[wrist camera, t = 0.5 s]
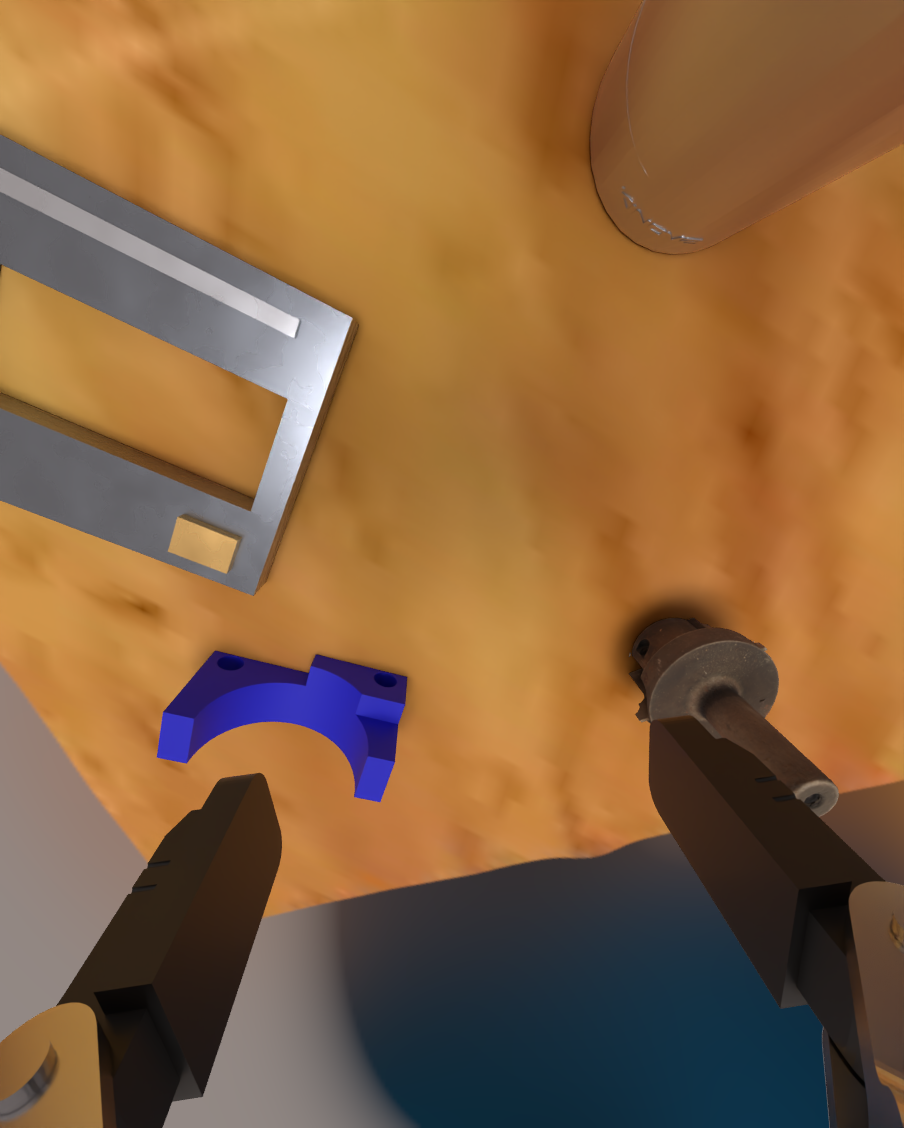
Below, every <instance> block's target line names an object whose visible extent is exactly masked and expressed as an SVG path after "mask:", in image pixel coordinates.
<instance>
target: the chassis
mask: <svg viewBox="0 0 904 1128" xmlns="http://www.w3.org/2000/svg"><path fill="white" fill-rule="evenodd" d="M1 264H2V265H4V266H6V267H8V268H10V269H12V270H15V271H17V272H19V273H21V274H23V275H25V276H27V277H29V278H32V279H34V280H36V281H38V282H40V283H42V284H44V285H46V286H49V287H51V288H53V289H55V290H57V291H59V292H61V293H63V294H66V295H68V296H70V297H72V298H74V299H76V300H78V301H80V302H83V303H85V304H87V305H89V306H91V307H93V308H95V309H97V310H100V311H102V312H104V313H106V314H108V315H110V316H112V317H114V318H117V319H119V320H121V321H123V322H125V323H127V324H129V325H132V326H134V327H136V328H138V329H140V330H142V331H144V332H146V333H149V334H151V335H153V336H155V337H157V338H159V339H161V340H163V341H166V342H168V343H170V344H172V345H174V346H176V347H178V348H180V349H183V350H185V351H187V352H189V353H191V354H193V355H195V356H197V357H200V358H202V359H204V360H206V361H208V362H210V363H212V364H214V365H217V366H219V367H221V368H223V369H225V370H227V371H229V372H232V373H234V374H236V375H238V376H240V377H242V378H244V379H246V380H249V381H251V382H253V383H255V384H257V385H259V386H261V387H263V388H266V389H268V390H270V391H272V392H274V393H276V394H278V395H280V396H283V397H285V398H287V399H288V401H287V404H286V407H285V410H284V413H283V416H282V419H281V422H280V425H279V428H278V431H277V434H276V437H275V440H274V443H273V446H272V449H271V452H270V455H269V458H268V461H267V464H266V467H265V470H264V473H263V476H262V479H261V482H260V485H259V488H258V491H257V494H256V497H255V499H253V498H250V497H248V496H246V495H243V494H241V493H238V492H236V491H234V490H231V489H229V488H226V487H224V486H222V485H219V484H217V483H215V482H212V481H210V480H207V479H205V478H203V477H200V476H198V475H195V474H193V473H191V472H188V471H186V470H184V469H181V468H179V467H176V466H174V465H172V464H169V463H167V462H164V461H162V460H160V459H157V458H155V457H153V456H150V455H148V454H145V453H143V452H141V451H138V450H136V449H133V448H131V447H129V446H126V445H124V444H122V443H119V442H117V441H114V440H112V439H110V438H107V437H105V436H102V435H100V434H98V433H95V432H93V431H91V430H88V429H86V428H83V427H81V426H79V425H76V424H74V423H71V422H69V421H67V420H64V419H62V418H60V417H57V416H55V415H52V414H50V413H48V412H45V411H43V410H40V409H38V408H36V407H33V406H31V405H29V404H26V403H24V402H21V401H19V400H17V399H14V398H12V397H9V396H7V395H5V394H2V393H0V500H1V501H3V502H6V503H9V504H11V505H14V506H16V507H19V508H22V509H24V510H27V511H30V512H32V513H35V514H38V515H40V516H43V517H46V518H48V519H51V520H54V521H56V522H59V523H62V524H64V525H67V526H70V527H72V528H75V529H78V530H80V531H83V532H85V533H88V534H91V535H93V536H96V537H99V538H101V539H104V540H107V541H109V542H112V543H115V544H117V545H120V546H123V547H125V548H128V549H131V550H133V551H136V552H139V553H141V554H144V555H147V556H149V557H152V558H154V559H157V560H160V561H162V562H165V563H168V564H170V565H173V566H176V567H178V568H181V569H184V570H186V571H189V572H192V573H194V574H197V575H200V576H202V577H205V578H208V579H210V580H213V581H215V582H218V583H221V584H223V585H226V586H229V587H231V588H234V589H237V590H239V591H242V592H245V593H247V594H250V595H253V596H254V595H255V594H256V592H257V591H258V590H259V589H260V588H261V587H262V586H263V585H264V583H265V582H266V580H267V577H268V575H269V572H270V569H271V566H272V564H273V561H274V558H275V555H276V553H277V550H278V547H279V544H280V542H281V539H282V536H283V533H284V530H285V528H286V525H287V522H288V519H289V517H290V514H291V511H292V508H293V506H294V503H295V500H296V497H297V495H298V492H299V489H300V486H301V484H302V481H303V478H304V475H305V472H306V470H307V467H308V464H309V461H310V459H311V456H312V453H313V450H314V448H315V445H316V442H317V439H318V437H319V434H320V431H321V428H322V426H323V423H324V420H325V417H326V414H327V412H328V409H329V406H330V403H331V401H332V398H333V395H334V392H335V390H336V387H337V384H338V381H339V379H340V376H341V373H342V370H343V368H344V365H345V362H346V359H347V356H348V354H349V351H350V348H351V345H352V343H353V340H354V337H355V334H356V332H357V329H358V326H359V325H358V323H357V322H356V321H355V320H354V319H353V318H352V317H350V316H348V315H346V314H344V313H342V312H340V311H338V310H336V309H334V308H332V307H330V306H328V305H327V304H325V303H323V302H321V301H319V300H317V299H315V298H313V297H311V296H309V295H307V294H305V293H304V292H302V291H300V290H298V289H296V288H294V287H292V286H290V285H288V284H286V283H284V282H282V281H280V280H279V279H277V278H275V277H273V276H271V275H269V274H267V273H265V272H263V271H261V270H259V269H257V268H256V267H254V266H252V265H250V264H248V263H246V262H244V261H242V260H240V259H238V258H236V257H234V256H233V255H231V254H229V253H227V252H225V251H223V250H221V249H219V248H217V247H215V246H213V245H211V244H209V243H208V242H206V241H204V240H202V239H200V238H198V237H196V236H194V235H192V234H190V233H188V232H186V231H185V230H183V229H181V228H179V227H177V226H175V225H173V224H171V223H169V222H167V221H165V220H163V219H161V218H160V217H158V216H156V215H154V214H152V213H150V212H148V211H146V210H144V209H142V208H140V207H138V206H137V205H135V204H133V203H131V202H129V201H127V200H125V199H123V198H121V197H119V196H117V195H115V194H114V193H112V192H110V191H108V190H106V189H104V188H102V187H100V186H98V185H96V184H94V183H92V182H90V181H89V180H87V179H85V178H83V177H81V176H79V175H77V174H75V173H73V172H71V171H69V170H67V169H66V168H64V167H62V166H60V165H58V164H56V163H54V162H52V161H50V160H48V159H46V158H44V157H42V156H41V155H39V154H37V153H35V152H33V151H31V150H29V149H27V148H25V147H23V146H21V145H19V144H18V143H16V142H14V141H12V140H10V139H8V138H6V137H4V136H2V135H0V268H1Z"/></svg>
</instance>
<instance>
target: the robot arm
mask: <svg viewBox="0 0 904 1128" xmlns="http://www.w3.org/2000/svg"><path fill="white" fill-rule="evenodd" d="M903 143H904V0H643V1H642V3H641V5H640V7H639V9H638V10H637V12H636V14H635V16H634V18H633V20H632V22H631V23H630V25H629V27H628V29H627V31H626V33H625V35H624V36H623V38H622V40H621V42H620V44H619V46H618V48H617V49H616V51H615V53H614V55H613V57H612V59H611V61H610V64H609V66H608V68H607V70H606V72H605V74H604V77H603V79H602V81H601V84H600V87H599V91H598V95H597V98H596V102H595V105H594V109H593V115H592V125H591V134H590V150H591V167H592V171H593V175H594V179H595V184H596V188H597V191H598V194H599V196H600V198H601V200H602V203H603V205H604V207H605V209H606V212H607V213H608V214H609V216H610V217H611V219H612V220H613V221H614V223H615V224H616V225H617V227H618V228H619V229H620V230H621V231H622V232H623V233H624V234H626V235H627V236H628V237H629V238H630V239H632V240H633V241H634V242H635V243H637V244H639V245H641V246H643V247H646V248H648V249H650V250H652V251H656V252H661V253H667V254H683V253H693V252H696V251H699V250H702V249H705V248H708V247H711V246H713V245H715V244H717V243H719V242H721V241H722V240H724V239H726V238H728V237H730V236H732V235H733V234H735V233H737V232H739V231H741V230H743V229H745V228H746V227H748V226H750V225H752V224H754V223H756V222H758V221H759V220H761V219H763V218H765V217H767V216H769V215H771V214H773V213H775V212H777V211H779V210H781V209H783V208H785V207H787V206H788V205H790V204H792V203H794V202H796V201H798V200H800V199H801V198H803V197H805V196H807V195H809V194H811V193H812V192H814V191H816V190H818V189H820V188H822V187H824V186H825V185H827V184H829V183H831V182H833V181H835V180H837V179H838V178H840V177H842V176H844V175H846V174H848V173H850V172H851V171H853V170H855V169H857V168H859V167H861V166H863V165H864V164H866V163H868V162H870V161H872V160H874V159H876V158H877V157H879V156H881V155H883V154H885V153H887V152H889V151H890V150H892V149H894V148H896V147H898V146H900V145H902V144H903ZM649 786H650V791H651V795H652V799H653V801H654V804H655V806H656V809H657V811H658V813H659V814H660V816H661V818H662V819H663V821H664V822H665V824H666V826H667V827H668V829H669V831H670V832H671V834H672V835H673V837H674V839H675V840H676V842H677V843H678V845H679V847H680V848H681V850H682V851H683V853H684V854H685V856H686V858H687V859H688V861H689V863H690V864H691V866H692V867H693V869H694V871H695V872H696V874H697V875H698V877H699V879H700V880H701V882H702V883H703V885H704V886H705V888H706V890H707V892H708V893H709V895H710V896H711V898H712V900H713V901H714V903H715V904H716V906H717V907H718V909H719V911H720V912H721V914H722V915H723V917H724V919H725V920H726V922H727V924H728V925H729V927H730V928H731V930H732V932H733V933H734V935H735V936H736V938H737V940H738V941H739V943H740V944H741V946H742V948H743V949H744V951H745V952H746V954H747V956H748V957H749V959H750V961H751V962H752V964H753V965H754V967H755V969H756V970H757V972H758V973H759V975H760V977H761V978H762V980H763V981H764V983H765V985H766V986H767V988H768V989H769V991H770V993H771V994H772V996H773V997H774V999H775V1001H776V1002H777V1004H778V1005H779V1007H780V1008H787V1007H794V1006H800V1005H806V1004H808V1005H809V1006H810V1007H811V1009H812V1010H813V1012H814V1013H815V1015H816V1016H817V1018H818V1019H819V1021H820V1022H821V1024H822V1025H823V1032H822V1046H823V1058H824V1069H825V1080H826V1091H827V1102H828V1114H829V1125H830V1128H904V886H903V885H899V884H894V883H889V882H886V881H885V880H883V879H882V878H881V877H880V876H879V875H878V874H877V873H876V872H875V871H874V870H873V869H872V868H871V867H870V866H869V865H868V864H867V863H866V862H865V861H864V860H863V859H862V858H861V857H859V856H858V855H857V854H856V853H855V852H854V851H853V850H852V849H851V848H850V847H849V846H848V845H847V844H846V843H845V842H844V841H843V840H842V839H841V838H840V837H839V836H838V835H837V834H836V833H835V832H834V831H833V830H832V829H831V828H829V827H828V826H827V825H826V824H825V823H824V822H823V821H822V820H821V819H820V818H819V817H818V816H817V815H816V814H815V813H814V812H813V811H812V810H811V809H810V808H809V807H808V806H807V805H806V804H805V803H804V802H803V801H802V800H801V799H797V798H796V796H795V794H794V793H793V792H792V791H791V790H790V789H789V788H788V787H787V786H786V785H785V784H784V783H783V782H782V781H781V780H777V778H776V775H775V774H774V773H773V772H772V771H771V770H770V769H769V768H767V767H766V766H765V765H764V764H763V763H762V762H761V761H760V760H759V759H758V758H757V757H756V756H755V755H754V754H753V753H751V752H749V751H747V750H746V749H744V748H742V747H740V746H739V745H737V744H735V743H734V742H732V741H730V740H728V739H727V738H719V739H715V738H714V737H713V736H712V735H711V734H710V733H709V732H708V731H707V729H706V728H705V727H704V726H703V725H702V724H701V723H700V722H699V721H698V720H697V719H696V718H694V717H693V716H691V715H686V716H679V717H672V718H664V719H657V720H653V721H652V722H651V725H650V742H649ZM281 851H282V837H281V830H280V827H279V823H278V820H277V816H276V813H275V809H274V805H273V802H272V798H271V795H270V791H269V788H268V784H267V781H266V778H265V777H264V775H263V774H261V773H256V774H249V775H241V776H234V777H227V778H222V779H220V780H219V781H218V782H217V783H216V785H215V787H214V788H213V790H212V792H211V793H210V795H209V797H208V798H207V800H206V802H205V804H204V805H203V807H202V809H200V810H193V811H191V812H189V813H188V814H187V815H186V816H185V817H184V818H183V819H182V820H181V821H180V822H179V823H178V824H177V825H176V826H175V827H174V828H173V829H172V830H171V831H170V832H169V833H168V834H167V835H166V836H165V837H164V839H163V840H162V842H161V844H160V845H159V847H158V848H157V850H156V851H155V853H154V855H153V856H152V858H151V859H150V861H149V862H148V868H147V869H144V870H143V872H142V873H141V875H140V876H139V878H138V880H137V881H136V883H135V884H134V886H133V887H132V893H131V894H128V895H127V897H126V898H125V900H124V901H123V903H122V905H121V906H120V908H119V910H118V911H117V913H116V914H115V916H114V917H113V919H112V920H111V922H110V924H109V925H108V927H107V928H106V930H105V931H104V933H103V934H102V936H101V938H100V939H99V941H98V942H97V944H96V946H95V947H94V949H93V950H92V952H91V953H90V955H89V956H88V958H87V960H86V961H85V963H84V964H83V966H82V967H81V969H80V970H79V972H78V973H77V975H76V977H75V978H74V980H73V981H72V983H71V984H70V986H69V988H68V989H67V991H66V993H65V994H64V995H63V997H62V998H61V1000H60V1001H59V1003H58V1004H57V1005H56V1007H53V1008H50V1009H48V1010H46V1011H44V1012H42V1013H40V1014H39V1015H37V1016H35V1017H33V1018H32V1019H30V1020H28V1021H27V1022H25V1023H24V1024H23V1025H22V1026H20V1027H19V1028H17V1029H16V1030H14V1031H13V1032H12V1033H11V1034H10V1035H9V1036H7V1037H6V1038H5V1039H4V1040H3V1041H2V1042H0V1128H162V1127H163V1125H164V1122H165V1119H166V1117H167V1114H168V1111H169V1108H170V1106H171V1103H172V1102H173V1101H179V1100H185V1099H192V1098H198V1097H203V1094H204V1091H205V1088H206V1085H207V1082H208V1079H209V1076H210V1073H211V1070H212V1067H213V1063H214V1061H215V1057H216V1055H217V1052H218V1049H219V1046H220V1043H221V1040H222V1037H223V1033H224V1031H225V1027H226V1025H227V1022H228V1018H229V1015H230V1012H231V1009H232V1006H233V1003H234V1000H235V997H236V994H237V991H238V988H239V985H240V982H241V979H242V976H243V973H244V970H245V967H246V964H247V961H248V958H249V955H250V952H251V949H252V946H253V943H254V940H255V937H256V934H257V931H258V928H259V925H260V922H261V919H262V916H263V913H264V910H265V907H266V904H267V901H268V898H269V895H270V892H271V889H272V886H273V883H274V880H275V877H276V874H277V871H278V867H279V864H280V859H281Z"/></svg>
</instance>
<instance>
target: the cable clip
mask: <svg viewBox="0 0 904 1128" xmlns="http://www.w3.org/2000/svg"><path fill="white" fill-rule="evenodd" d="M406 686H407V677H405V676H401V675H397V674H393V673H389V672H385V671H381V670H377V669H373V668H369V667H365V666H361V665H357V664H353V663H349V662H345V661H341V660H337V659H333V658H329V657H325V656H321V655H316V656H315V658H314V660H313V662H312V665H311V668H310V672H309V673H306V672H302V671H298V670H293V669H289V668H285V667H281V666H277V665H273V664H269V663H264V662H260V661H256V660H252V659H248V658H244V657H239V656H235V655H231V654H227V653H223V652H219V651H214V653H213V654H212V655H211V656H210V657H209V658H208V660H207V661H206V662H205V663H204V664H203V666H202V667H201V668H200V669H199V670H198V671H197V673H196V674H195V675H194V676H193V677H192V679H191V680H190V681H189V682H188V683H187V684H186V686H185V687H184V688H183V689H182V690H181V692H180V693H179V694H178V695H177V696H176V697H175V699H174V700H173V701H172V702H171V703H170V705H169V706H168V707H167V708H166V709H165V710H164V712H163V717H162V724H161V731H160V738H159V746H158V753H157V758H162V759H167V760H172V761H177V762H182V763H187V762H188V761H189V760H190V758H191V757H192V756H193V755H194V754H195V753H196V752H197V750H199V749H200V748H201V747H202V746H203V745H204V744H206V743H207V742H208V741H210V740H211V739H213V738H215V737H216V736H218V735H220V734H222V733H224V732H226V731H228V730H231V729H233V728H236V727H239V726H243V725H247V724H251V723H258V722H287V723H293V724H298V725H301V726H305V727H308V728H310V729H313V730H315V731H317V732H319V733H321V734H323V735H324V736H326V737H327V738H329V739H330V740H331V741H333V742H334V743H335V744H336V745H337V746H338V747H339V748H340V749H341V750H342V751H343V753H344V754H345V756H346V757H347V759H348V761H349V763H350V765H351V767H352V770H353V774H354V779H355V794H354V797H357V798H362V799H367V800H372V801H377V802H380V801H381V799H382V796H383V793H384V790H385V788H386V785H387V782H388V779H389V777H390V774H391V771H392V768H393V765H394V763H395V754H396V743H397V732H398V723H399V720H400V718H401V715H402V712H403V709H404V706H405V699H406Z"/></svg>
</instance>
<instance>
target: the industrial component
mask: <svg viewBox="0 0 904 1128" xmlns="http://www.w3.org/2000/svg"><path fill="white" fill-rule="evenodd" d="M765 650H767V649H766V648H765V647H764V646H763V645H761V644H760V643H754V642H752V641H751V640H749V639H747V638H746V637H744V636H743V635H741V634H739V633H737V632H735V631H732V630H729V629H723V628H711V627H710V626H709V625H707V624H702V623H700V622H699V621H697V620H696V619H695V618H691V619H689V620H685V619H680V618H668V619H663V620H660V621H657V622H655V623H653V624H652V625H650V626H649V627H647V628H646V629H645V630H644V631H643V632H642V633H641V634H640V635H639V636H638V638H637V640H636V641H635V643H634V646H633V649H632V656H633V657H634V658H635V660H636V661H637V662H638V663H639V664H640V666H641V667H642V669H639V670H636V671H634V672H631V673H629V675H630V676H631V677H632V679H633V680H634V681H635V683H636V684H637V685H638V687H639V688H640V689H641V691H642V692H643V693H644V699H643V701H642V702H641V703H640V704H639V706H640V708H639V710H638V712H637V713H636V714H635V715H636V716H637V718H638V719H639V721H641V722H644V721H648V722H649V723H651V722H652V721H653V720H657V719H664V718H672V717H679V716H686V715H691V716H693V717H694V718H696V719H697V720H698V721H699V722H700V723H701V724H702V725H703V726H704V727H705V728H706V729H707V731H708V732H709V733H710V734H711V735H712V736H713V737H714V738H715V739H719V738H727V739H728V740H730V741H732V742H734V743H735V744H737V745H739V746H740V747H742V748H744V749H746V750H747V751H749V752H751V753H753V754H754V755H755V756H756V757H757V758H758V759H759V760H760V761H761V762H762V763H763V764H764V765H765V766H766V767H767V768H769V769H770V770H771V771H772V772H773V773H774V774H775V775H776V778H777V780H781V781H782V782H783V783H784V784H785V785H786V786H787V787H788V788H789V789H790V790H791V791H792V792H793V793H794V794H795V796H796V798H797V799H801V800H802V801H803V802H804V803H805V804H806V805H807V806H808V807H809V808H810V809H811V810H812V811H813V812H814V813H815V814H816V815H817V816H818V817H819V816H822V815H824V814H826V813H827V812H829V811H830V810H831V809H832V808H833V806H834V805H835V804H836V802H837V800H838V796H839V793H838V788H837V787H836V785H835V784H834V783H833V782H832V781H831V780H830V779H829V778H828V777H827V776H826V775H825V774H824V773H822V772H821V770H819V769H818V768H817V767H816V766H815V765H814V764H813V763H812V762H811V761H810V760H808V759H807V758H806V757H805V756H804V755H803V754H802V753H801V752H800V751H799V750H798V749H797V748H796V747H795V746H794V745H793V744H792V743H790V742H789V741H788V740H787V739H786V738H785V737H784V736H783V735H782V734H781V733H779V732H778V730H777V729H775V728H774V727H773V726H772V725H771V724H770V723H769V722H768V721H767V720H766V719H765V717H766V715H767V714H768V713H769V711H770V710H771V708H772V706H773V704H774V702H775V699H776V696H777V693H778V685H779V678H778V672H777V668H776V666H775V664H774V662H773V660H772V659H771V657H770V656H769V655H768V654H767V653H766V652H764V651H765ZM630 654H631V653H630ZM629 657H630V656H629Z"/></svg>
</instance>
